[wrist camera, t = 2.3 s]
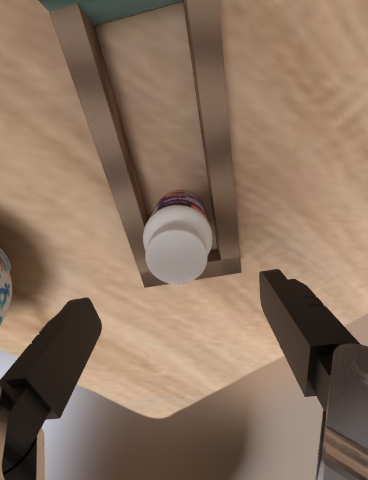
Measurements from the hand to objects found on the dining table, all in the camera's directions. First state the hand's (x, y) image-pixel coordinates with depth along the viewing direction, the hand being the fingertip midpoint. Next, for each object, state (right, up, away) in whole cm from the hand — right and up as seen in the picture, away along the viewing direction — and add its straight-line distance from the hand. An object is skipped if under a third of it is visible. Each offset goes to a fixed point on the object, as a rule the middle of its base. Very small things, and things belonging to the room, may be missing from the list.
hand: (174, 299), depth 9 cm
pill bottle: (0, +6, +12) cm, 13 cm away
